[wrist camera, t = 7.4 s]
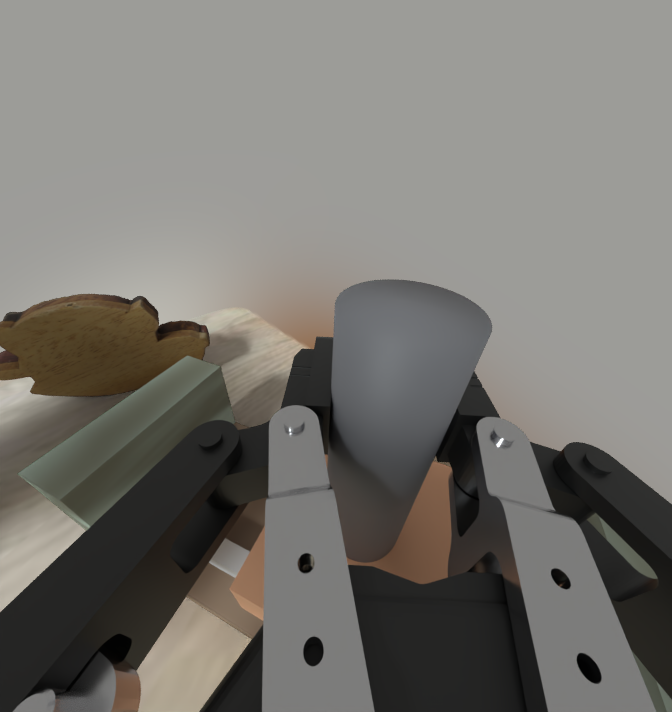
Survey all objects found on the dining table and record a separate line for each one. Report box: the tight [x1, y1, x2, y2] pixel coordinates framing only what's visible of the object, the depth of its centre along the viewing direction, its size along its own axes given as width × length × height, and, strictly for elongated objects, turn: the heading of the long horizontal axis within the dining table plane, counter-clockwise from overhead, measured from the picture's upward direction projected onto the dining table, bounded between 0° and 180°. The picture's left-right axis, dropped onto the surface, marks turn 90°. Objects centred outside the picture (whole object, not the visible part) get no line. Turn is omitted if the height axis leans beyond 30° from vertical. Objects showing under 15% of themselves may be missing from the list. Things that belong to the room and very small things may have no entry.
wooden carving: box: [0, 294, 210, 397], centre depth 25 cm, size 16×5×10 cm, turn 118°
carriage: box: [229, 280, 492, 621], centre depth 11 cm, size 8×9×14 cm
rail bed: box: [18, 356, 672, 712], centre depth 15 cm, size 28×10×8 cm, turn 68°
